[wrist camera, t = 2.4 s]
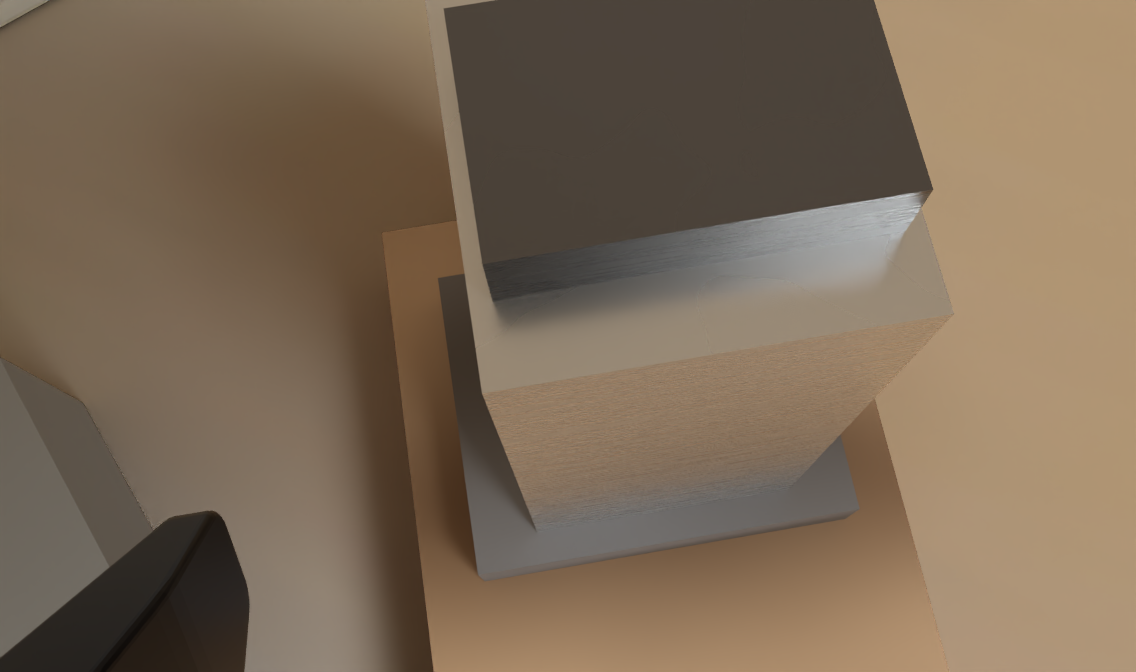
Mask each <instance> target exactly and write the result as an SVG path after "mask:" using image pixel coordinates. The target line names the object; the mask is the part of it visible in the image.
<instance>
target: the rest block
mask: <svg viewBox="0 0 1136 672" xmlns="http://www.w3.org/2000/svg"><path fill="white" fill-rule="evenodd" d="M151 532H153V530H152V528H151V526H150V525H149V523H148V521H147V519H146V517H145V515H144V514H143V512H142V510H141V508H140V506H139V505H138V503H137V501H136V499H135V497H134V495H133V494H132V492H131V490H130V488H129V486H128V484H127V483H126V481H125V479H124V477H123V475H122V473H121V472H120V470H119V468H118V466H117V464H116V463H115V461H114V459H113V457H112V455H111V453H110V452H109V450H108V448H107V446H106V444H105V442H104V441H103V439H102V437H101V435H100V433H99V431H98V430H97V428H96V426H95V424H94V422H93V421H92V419H91V417H90V415H89V413H88V411H87V410H86V408H85V406H84V404H83V403H82V402H80V401H78V400H77V399H75V398H73V397H71V396H69V395H68V394H66V393H64V392H62V391H60V390H59V389H57V388H55V387H53V386H51V385H50V384H48V383H46V382H44V381H42V380H41V379H39V378H37V377H35V376H33V375H32V374H30V373H28V372H26V371H24V370H23V369H21V368H19V367H17V366H15V365H13V364H12V363H10V362H8V361H6V360H4V359H3V358H1V357H0V657H1V656H3V655H4V654H5V653H6V652H8V651H9V650H10V649H11V648H12V647H14V646H15V645H16V644H17V643H18V642H20V641H21V640H22V639H23V638H24V637H26V636H27V635H28V634H29V633H30V632H32V631H33V630H34V629H35V628H37V627H38V626H39V625H40V624H41V623H43V622H44V621H45V620H46V619H47V618H49V617H50V616H51V615H52V614H53V613H55V612H56V611H57V610H58V609H59V608H61V607H62V606H63V605H64V604H66V603H67V602H68V601H69V600H70V599H72V598H73V597H74V596H75V595H76V594H78V593H79V592H80V591H81V590H82V589H84V588H85V587H86V586H87V585H88V584H90V583H91V582H92V581H93V580H95V579H96V578H97V577H98V576H99V575H101V574H102V573H103V572H104V571H105V570H107V569H108V568H109V567H110V566H111V565H113V564H114V563H115V562H116V561H117V560H119V559H120V558H121V557H122V556H124V555H125V554H126V553H127V552H128V551H130V550H131V549H132V548H133V547H134V546H136V545H137V544H138V543H139V542H140V541H142V540H143V539H144V538H145V537H146V536H148V535H149V534H150V533H151Z"/></svg>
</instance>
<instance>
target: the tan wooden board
mask: <svg viewBox="0 0 1136 672" xmlns="http://www.w3.org/2000/svg"><path fill="white" fill-rule="evenodd" d="M382 240H383V248H384V257H385V265H386V274H387V282H388V291H389V299H390V308H391V316H392V324H393V333H394V341H395V350H396V358H397V367H398V375H399V383H400V392H401V400H402V409H403V417H404V426H405V434H406V443H407V451H408V459H409V468H410V476H411V485H412V493H413V502H414V510H415V518H416V527H417V535H418V544H419V552H420V561H421V569H422V577H423V586H424V594H425V603H426V611H427V620H428V628H429V637H430V645H431V653H432V662H433V670H434V672H949V669H948V665H947V662H946V658H945V654H944V651H943V647H942V643H941V640H940V636H939V632H938V629H937V625H936V621H935V618H934V614H933V610H932V607H931V603H930V599H929V596H928V592H927V588H926V585H925V581H924V577H923V574H922V570H921V567H920V563H919V559H918V556H917V552H916V548H915V545H914V541H913V537H912V534H911V530H910V526H909V523H908V519H907V515H906V512H905V508H904V504H903V501H902V497H901V493H900V490H899V486H898V482H897V479H896V475H895V471H894V468H893V464H892V460H891V457H890V453H889V449H888V446H887V442H886V438H885V435H884V431H883V427H882V424H881V420H880V416H879V413H878V409H877V405H876V402H875V398H874V399H873V400H872V401H871V402H870V404H869V405H868V406H867V407H866V408H865V409H864V410H863V411H862V412H861V413H860V414H859V415H858V416H857V417H856V418H855V419H854V420H853V422H852V423H851V424H850V425H849V426H848V427H847V428H846V429H845V430H844V431H843V432H842V433H841V434H840V435H839V436H838V437H837V438H836V440H835V441H834V442H833V443H832V444H831V445H830V446H829V447H828V448H827V449H826V450H825V451H824V452H823V453H822V454H821V455H820V457H819V458H818V459H817V460H816V461H815V462H814V463H813V464H812V465H811V466H810V467H809V468H808V469H807V470H806V471H805V472H804V473H803V475H802V476H801V477H800V478H799V479H798V480H797V481H796V482H795V483H794V484H793V485H792V486H791V487H790V488H789V489H784V490H779V491H773V492H767V493H761V494H755V495H750V496H744V497H738V498H732V499H726V500H720V501H715V502H709V503H703V504H697V505H691V506H686V507H680V508H674V509H668V510H662V511H657V512H651V513H645V514H639V515H633V516H628V517H622V518H616V519H610V520H604V521H599V522H593V523H587V524H581V525H575V526H570V527H564V528H558V529H552V530H546V531H541V532H537V530H536V528H535V525H534V523H533V520H532V518H531V515H530V513H529V510H528V508H527V505H526V503H525V500H524V498H523V495H522V493H521V490H520V488H519V485H518V482H517V480H516V477H515V475H514V472H513V470H512V467H511V465H510V462H509V460H508V457H507V455H506V452H505V450H504V447H503V445H502V442H501V440H500V437H499V435H498V432H497V430H496V427H495V425H494V422H493V420H492V417H491V415H490V412H489V410H488V407H487V405H486V402H485V400H484V397H483V395H482V390H481V383H480V376H479V369H478V362H477V355H476V348H475V341H474V335H473V328H472V321H471V314H470V307H469V300H468V293H467V286H466V279H465V273H464V266H463V259H462V252H461V245H460V238H459V231H458V224H457V220H455V221H448V222H442V223H436V224H430V225H424V226H418V227H412V228H406V229H400V230H394V231H388V232H382Z"/></svg>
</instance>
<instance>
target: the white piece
mask: <svg viewBox="0 0 1136 672" xmlns="http://www.w3.org/2000/svg"><path fill="white" fill-rule="evenodd" d="M425 4H426V11H427V18H428V25H429V31H430V38H431V45H432V52H433V59H434V66H435V73H436V80H437V87H438V93H439V100H440V107H441V114H442V121H443V128H444V135H445V142H446V149H447V155H448V162H449V169H450V176H451V183H452V190H453V197H454V204H455V211H456V217H457V224H458V231H459V238H460V245H461V252H462V259H463V266H464V273H465V279H466V286H467V293H468V300H469V307H470V314H471V321H472V328H473V335H474V341H475V348H476V355H477V362H478V369H479V376H480V383H481V390H482V395H483V397H484V400H485V402H486V405H487V407H488V410H489V412H490V415H491V417H492V420H493V422H494V425H495V427H496V430H497V432H498V435H499V437H500V440H501V442H502V445H503V447H504V450H505V452H506V455H507V457H508V460H509V462H510V465H511V467H512V470H513V472H514V475H515V477H516V480H517V482H518V485H519V488H520V490H521V493H522V495H523V498H524V500H525V503H526V505H527V508H528V510H529V513H530V515H531V518H532V520H533V523H534V525H535V528H536V530H537V532H541V531H546V530H552V529H558V528H564V527H570V526H575V525H581V524H587V523H593V522H599V521H604V520H610V519H616V518H622V517H628V516H633V515H639V514H645V513H651V512H657V511H662V510H668V509H674V508H680V507H686V506H691V505H697V504H703V503H709V502H715V501H720V500H726V499H732V498H738V497H744V496H750V495H755V494H761V493H767V492H773V491H779V490H784V489H789V488H790V487H791V486H792V485H793V484H794V483H795V482H796V481H797V480H798V479H799V478H800V477H801V476H802V475H803V473H804V472H805V471H806V470H807V469H808V468H809V467H810V466H811V465H812V464H813V463H814V462H815V461H816V460H817V459H818V458H819V457H820V455H821V454H822V453H823V452H824V451H825V450H826V449H827V448H828V447H829V446H830V445H831V444H832V443H833V442H834V441H835V440H836V438H837V437H838V436H839V435H840V434H841V433H842V432H843V431H844V430H845V429H846V428H847V427H848V426H849V425H850V424H851V423H852V422H853V420H854V419H855V418H856V417H857V416H858V415H859V414H860V413H861V412H862V411H863V410H864V409H865V408H866V407H867V406H868V405H869V404H870V402H871V401H872V400H873V399H874V398H875V397H876V396H877V395H878V394H879V393H880V392H881V391H882V390H883V389H884V388H885V387H886V385H887V384H888V383H889V382H890V381H891V380H892V379H893V378H894V377H895V376H896V375H897V374H898V373H899V372H900V371H901V370H902V369H903V367H904V366H905V365H906V364H907V363H908V362H909V361H910V360H911V359H912V358H913V357H914V356H915V355H916V354H917V353H918V352H919V351H920V349H921V348H922V347H923V346H924V345H925V344H926V343H927V342H928V341H929V340H930V339H931V338H932V337H933V336H934V335H935V334H936V332H937V331H938V330H939V329H940V328H941V327H942V326H943V325H944V324H945V323H946V322H947V321H948V320H949V319H950V318H951V317H952V316H953V314H954V312H953V309H952V306H951V302H950V299H949V296H948V293H947V289H946V286H945V283H944V280H943V276H942V273H941V270H940V267H939V263H938V260H937V257H936V254H935V250H934V247H933V244H932V241H931V237H930V234H929V231H928V228H927V224H926V221H925V218H924V215H923V211H922V208H921V207H922V206H923V204H924V203H925V201H926V200H927V198H928V197H929V195H930V194H931V192H932V191H933V187H932V184H931V181H930V178H929V175H928V171H927V168H926V165H925V162H924V159H923V155H922V152H921V149H920V146H919V143H918V140H917V136H916V133H915V130H914V127H913V124H912V120H911V117H910V114H909V111H908V108H907V104H906V101H905V98H904V95H903V92H902V88H901V85H900V82H899V79H898V76H897V73H896V69H895V66H894V63H893V60H892V57H891V53H890V50H889V47H888V44H887V41H886V37H885V34H884V31H883V28H882V25H881V22H880V18H879V15H878V12H877V9H876V6H875V2H874V0H425Z"/></svg>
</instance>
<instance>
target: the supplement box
mask: <svg viewBox="0 0 1136 672" xmlns="http://www.w3.org/2000/svg"><path fill="white" fill-rule="evenodd" d="M48 1H49V0H0V27H2V26H4V25H5V24H7V23H9V22H11V21H13V20H15V19H16V18H18V17H20V16H22V15H24V14H26V13H27V12H29V11H31V10H33V9H35V8H37V7H38V6H40V5H42V4H44V3H46V2H48Z"/></svg>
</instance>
